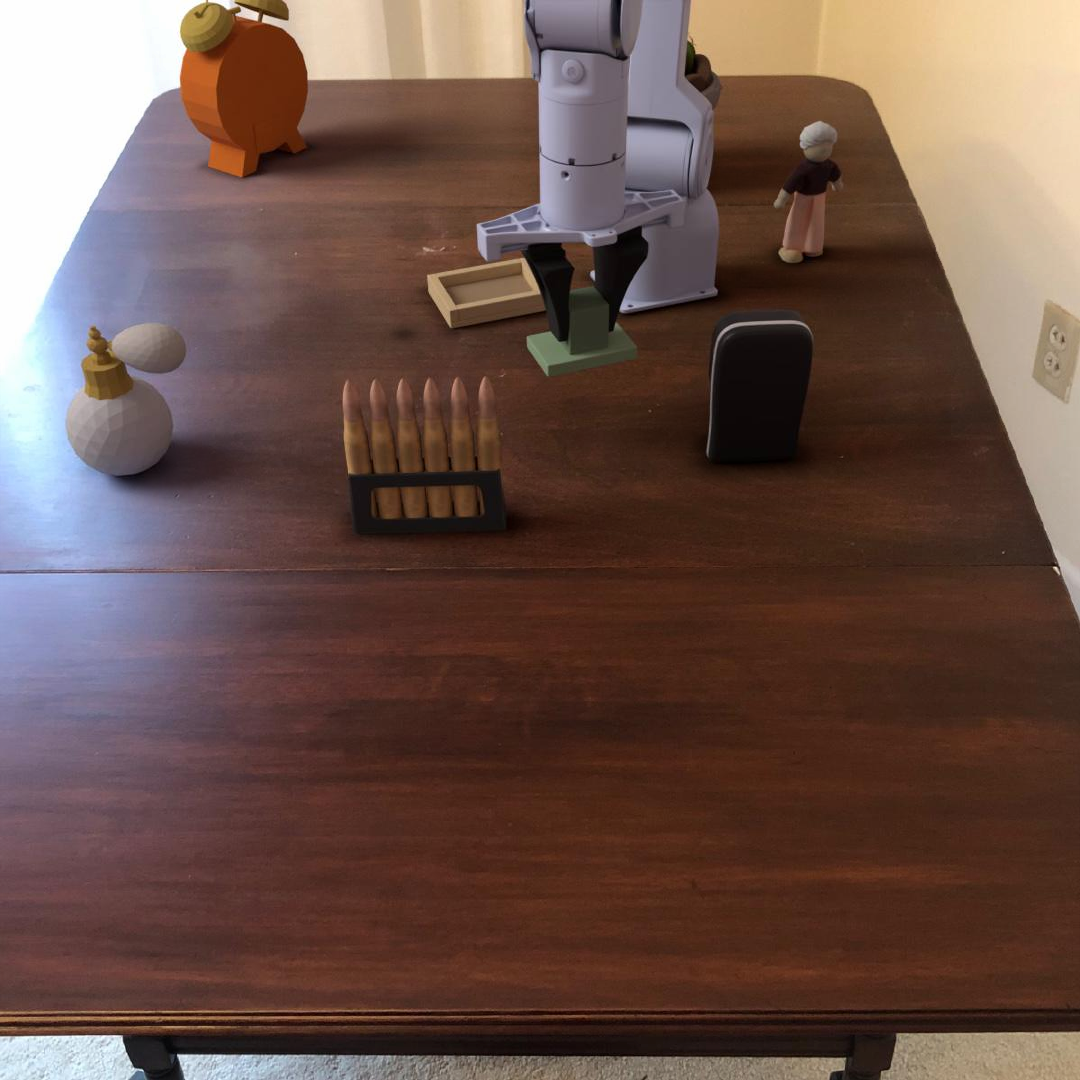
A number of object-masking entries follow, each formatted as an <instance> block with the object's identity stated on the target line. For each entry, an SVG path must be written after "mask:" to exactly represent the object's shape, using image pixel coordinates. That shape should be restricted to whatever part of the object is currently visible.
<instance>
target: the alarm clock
mask: <svg viewBox="0 0 1080 1080" xmlns="http://www.w3.org/2000/svg"><path fill="white" fill-rule="evenodd" d="M234 4H236V5H237V6H234V7H231V8H229V9H228V8H226V7H225V6H224V5H222V4H220V3H217V2H213V1H212V2H211V1H209V0H205V2H202V3H199V4H197V5H195V6H193V7H192V8H191V9H189V10H188V11H187V12H186V13H185V15H184V16H183V18H182V19H181V22H180V26H179V27H180V28H179V36H180V39H181V41H182V44H183V46H184V47H185V48H186V50H185V52H184V54H183V56H182V59H181V60H182V62H181V66H180V72H179V73H180V74H179V85H180V98H181V101H182V104H183V107H184V110H185V112H186V116H187V117H188V119H189V120H190V121H191V123H192V124H193V126H194V127H195V128H196V130H197V131H198V132H199V133H200V134H202V135H203V136H205V137H206V138H207V139H209V140H210V147H209V157H208V162H207V167H208V168H211V169H214V170H217V171H220V172H223V173H227V174H230V175H232V176H235V177H239V178H241V179H242V178H244V177H246V176H248V175H251V174H253V173H255V172H257V167H258V162H259V157H260V154H264V153H268V152H269V153H270V152H273V151H276V149H278V150H281V151H285V152H287V153H291V154H296V153H299V152H300V151H303V150H304V149H307V148H308V146H307V145H306V143H305V140H304V139H303V136H302V135H301V133H300V131H299V130H298V126H299V124H300V122H301V120H302V117H303V115H304V113H305V110H306V109H305V108H306V104H307V99H308V94H309V80H308V79H309V78H308V76H309V75H308V73H309V72H308V69H307V64H306V61H305V56H304V53H303V52H302V50H301V47H300V45H298V42H297V41H296V39H295V38H294V37H293V36H292V35H291V34H289V33H288V32H287V31H286V30H285V29H284V28H282V27H280V26H277V25H275V24H272V23H267V22H264V21H263V20H264V19H263V18H264V16H266V17H270V18H273V19H277V20H281V21H289V19H290V10H289V7H288V5H287V3H286V2H285V1H284V0H234ZM241 7H242V8H244V9H247V10H250V11H252V12H254V13H258V15H257V20H255V19H250V18H247V17H244V16H239V15H237V14H239V13H241V12H242V8H241Z"/></svg>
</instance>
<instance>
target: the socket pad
mask: <svg viewBox="0 0 1080 1080" xmlns="http://www.w3.org/2000/svg"><path fill="white" fill-rule="evenodd" d="M426 275H427V277H426V278H427V289H428V294H429V295H430V297H431V298H432V301H433V302H434V303H435V305H436V307H437V308H438V310H439V311H440V313H441V315H442V316H443V318H444V320H445V321H446V323H447V325H448V326H449V328H450V330H451V329H452V330H453V329H456V328H461V327H467V326H472V325H478V324H483V323H488V322H493V321H499V320H503V319H509V318H512V317H513V318H514V317H519V316H524V315H531V314H535V313H539V312H546V309H545V305H544V302H543V299H542V296H541V293H540V290H539V288H538V285H537V283H536V280H535V278H534V276H533V274H532V271H531V269H530V267H529V265H528V263H527V262H526V260H525V258H524V257H520V258H515V259H509V260H504V261H497V262H493V263H486V264H481V265H476V266H469V267H464V268H459V269H454V270H453V269H452V270H447V271H443V272H442V271H441V272H437V273H431V274H426Z"/></svg>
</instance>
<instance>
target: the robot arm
mask: <svg viewBox="0 0 1080 1080" xmlns="http://www.w3.org/2000/svg"><path fill="white" fill-rule="evenodd" d="M691 4H692V0H523V27H524V35H525V39H526V44H527V46H528V49H529V53H530V54H529V56H530V74H531V77H532V80H533V81H536V82H537V83H538V84H537V85H538V139H539V140H538V143H539V144H538V146H539V148H538V149H539V203H535V204H534V205H533V204H532V205H531V206H528V207H526V208H523V209H521V210H517V211H515V212H512V213H510V214H507V215H504V216H502V217H498V218H496V219H492V220H489V221H484V222H479V223H477V224H476V235H477V236H476V237H477V238H476V239H477V250H478V251H479V253H480V255H481V256H482V257H483V259H484V260H485V261H486V262H487V263H490V262H495V261H499V260H501V259H502V255H507V254H512V253H517V252H521V254H522V256H523V258H525V260H526V262H527V263H528V265H529V267H530V269H531V271H532V274H533V276H534V278H535V280H536V283H537V285H538V288H539V290H540V293H541V296H542V299H543V302H544V305H545V309H546V311H545V313H546V317H547V321H548V327H549V332H550V331H551V332H552V334H553V335H554V336H555V338H556V339H557V340H558V342H563V341H567V340H568V333H569V295H570V290H571V287H572V281H573V276H574V273H575V266H573V264H572V263H571V262H570V261H569V260H568V258H567V256H566V255H567V251H566V249H564V248H563V244H567V243H568V244H569V243H570V244H571V243H574V244H575V243H585V244H586V245H587V246H588V247H591V248H592V255H593V267H594V270H591V271H590V274H589V277H590V278H591V279H592V280H593V282H594V285H593V286H594V287H595V288H596V290H597V291H598V292H599V293H600V294H601V296H602V297H603V298H604V299H605V300H606V302H607V303H608V304H609V332H612V331H614V327H615V323H616V322H617V320H618V316H619V312H620V313H622V314H631V313H632V314H633V313H636V312H642V311H646V310H651V309H656V308H662V307H667V306H672V305H677V304H683V303H689V302H692V301H697V300H702V299H703V300H704V299H708V298H712V297H716V296H718V289H717V287H715V283H716V282H715V281H716V271H717V256H718V246H719V234H720V220H719V219H720V218H719V213H718V208H717V204H716V202H715V199H714V197H713V195H712V194H711V192H710V191H709V190H708V189H707V188H708V185H709V182H710V177H711V171H712V165H713V157H714V147H715V138H714V137H715V136H714V119H715V111H714V109H713V110H712V105H711V103H710V102H709V101H708V100H707V99H706V98H705V97H704V96H703V95H702V94H701V93H700V92H699V91H698V90H697V89H696V88H695V87H694V86H693V85H691V84H690V83H689V82H688V80H687V79H686V78H685V76H684V73H685V62H686V51H687V40H688V38H689V27H690V16H691ZM688 41H689V40H688ZM629 56H630V64H629ZM627 116H634V117H627ZM638 117H645V118H638ZM649 118H655V119H649ZM659 119H666V120H659ZM670 120H676V121H670Z"/></svg>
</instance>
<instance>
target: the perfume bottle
mask: <svg viewBox="0 0 1080 1080" xmlns="http://www.w3.org/2000/svg"><path fill="white" fill-rule="evenodd" d="M89 328H90V330H88V333H87V335H88V337H89V338H88V339H87V341H86V347H87V349H88V350H89V351H90V352H91V353H89V354H87V355H86V356H85V357H83V358H82V360H81V364H80V367H81V370H82V373H83V377H84V380H85V383H84V384H83V386H81V387H80V389H79V390H78V391H77V392H76V393H75V395H73V397H72V398H71V400H70V403H69V405H68V407H67V410H66V417H65V423H64V425H65V431H66V436H67V440H68V442H69V444H70V446H71V448H72V450H73V452H74V453H75V455H76V456H77V457H78V458H79V459H80V460H81V461H82V462H83V463H84V464H85V465H86V466H88V467H90V468H91V469H93V470H95V471H97V472H98V473H101V474H106V475H111V476H115V477H119V476H129V475H130V476H131V475H136V474H139V473H141V472H144V471H146V470H148V469H150V468H151V467H153V466H154V465H156V464H157V463H159V461H160V460H161V459H162V457H163V456H164V455H165V454H166V452H167V451H168V449H169V446H170V444H171V442H172V438H173V431H174V421H173V416H172V415H173V414H172V411H171V408H170V407H169V405H168V403H167V401H166V399H165V397H164V396H163V395H162V394H161V392H160V391H158V389H157V388H156V387H155V386H153V384H151V383H149V382H148V381H146V380H144V379H142V378H140V377H139V376H135V375H131V374H129V373H128V369H127V366H128V367H131V368H133V369H134V370H137V371H140V372H144V373H148V374H158V375H162V374H167V373H171V372H173V371H176V370H177V369H179V368H180V367H181V365H182V364H183V363H184V361H185V359H186V355H187V344H186V341H185V339H184V337H183V336H182V333H180V332H179V330H177V329H175V328H174V327H173V326H171V325H167V324H165V323H158V322H146V323H140V324H136V325H133V326H130V327H128V328H124V330H122V331H121V332H119V333H117V334H116V336H115V337H114V338H113V339H111V340H110V341H107V338H105V337H103V336H102V333H101V331H100V330H99V329H98V328H97V327H96V325H90V326H89Z"/></svg>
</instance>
